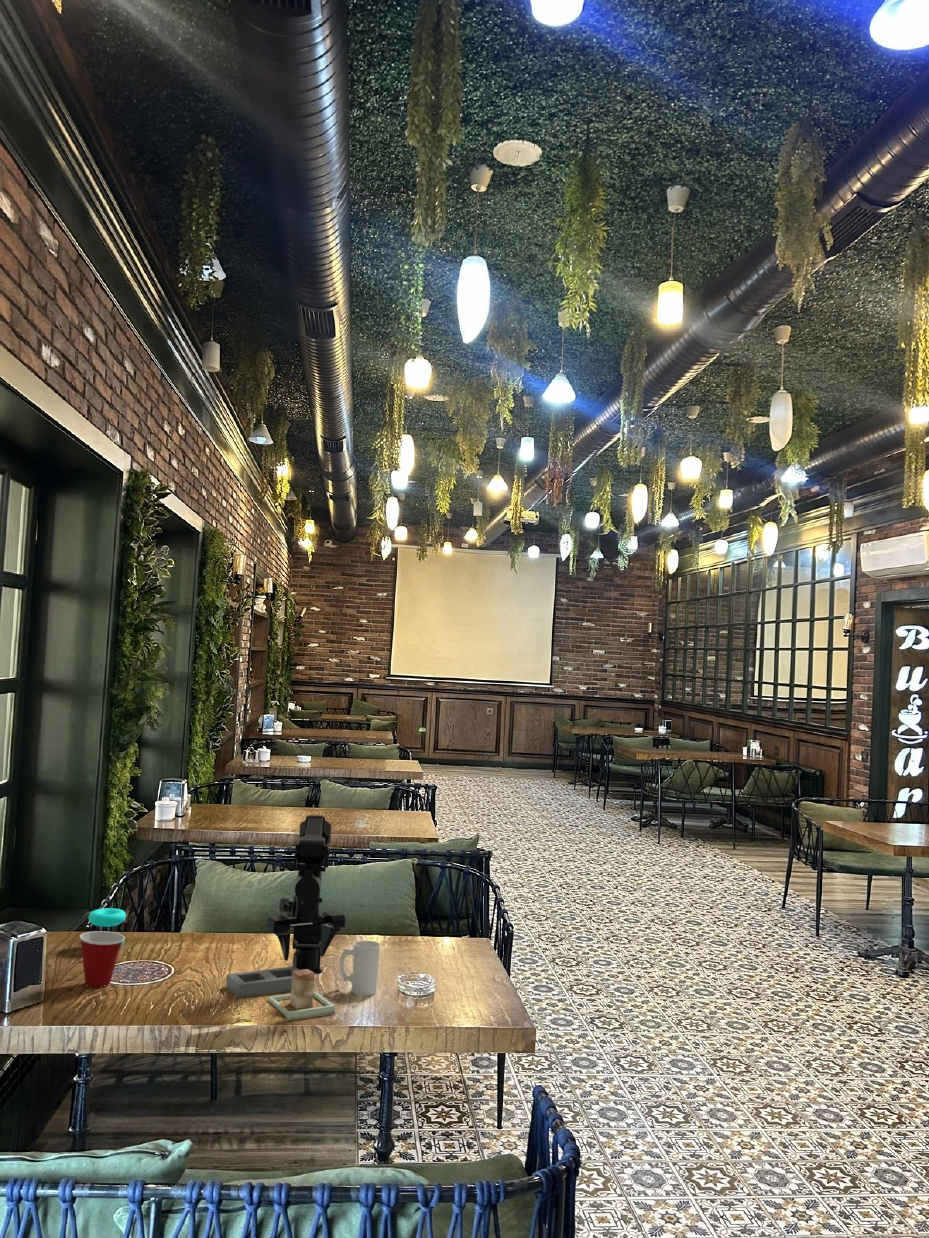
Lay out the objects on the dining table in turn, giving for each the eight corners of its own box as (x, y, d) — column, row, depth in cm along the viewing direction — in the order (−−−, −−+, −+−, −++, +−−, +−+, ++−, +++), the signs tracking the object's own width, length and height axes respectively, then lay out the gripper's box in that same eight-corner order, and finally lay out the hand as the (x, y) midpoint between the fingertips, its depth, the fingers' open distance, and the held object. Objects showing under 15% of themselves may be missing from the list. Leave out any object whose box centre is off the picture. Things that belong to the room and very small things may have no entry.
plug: (305, 1002, 226) (307, 968, 227) (312, 1007, 223) (314, 973, 224) (290, 1004, 224) (292, 970, 225) (296, 1010, 221) (298, 975, 221)
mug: (376, 987, 242) (379, 940, 243) (377, 996, 235) (380, 948, 236) (337, 987, 241) (340, 939, 242) (337, 995, 234) (340, 947, 235)
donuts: (133, 908, 269) (114, 917, 259) (130, 944, 268) (111, 953, 259) (101, 905, 271) (81, 913, 261) (98, 940, 270) (78, 950, 260)
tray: (314, 997, 232) (314, 990, 232) (334, 1013, 222) (334, 1005, 222) (267, 1004, 225) (268, 996, 226) (286, 1020, 215) (287, 1012, 215)
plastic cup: (119, 990, 229) (123, 940, 230) (72, 991, 226) (76, 941, 227) (123, 976, 240) (127, 929, 241) (78, 977, 237) (82, 929, 238)
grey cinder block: (293, 981, 243) (294, 966, 243) (306, 992, 236) (307, 976, 236) (225, 990, 234) (226, 974, 234) (237, 1001, 226) (238, 984, 226)
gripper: (330, 882, 237) (325, 945, 236) (259, 887, 227) (255, 953, 226) (349, 892, 228) (344, 957, 227) (276, 897, 218) (271, 966, 217)
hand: (304, 958), depth 224 cm, fingers open, 9 cm apart
